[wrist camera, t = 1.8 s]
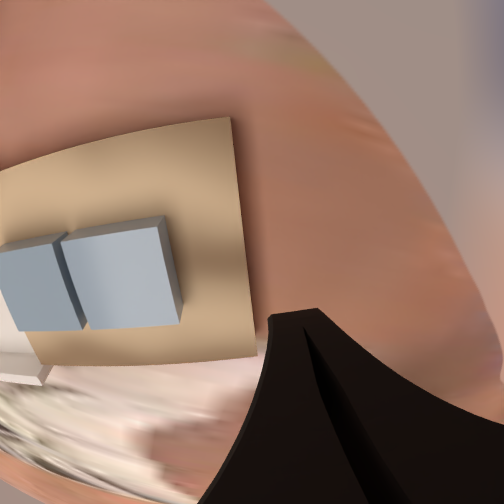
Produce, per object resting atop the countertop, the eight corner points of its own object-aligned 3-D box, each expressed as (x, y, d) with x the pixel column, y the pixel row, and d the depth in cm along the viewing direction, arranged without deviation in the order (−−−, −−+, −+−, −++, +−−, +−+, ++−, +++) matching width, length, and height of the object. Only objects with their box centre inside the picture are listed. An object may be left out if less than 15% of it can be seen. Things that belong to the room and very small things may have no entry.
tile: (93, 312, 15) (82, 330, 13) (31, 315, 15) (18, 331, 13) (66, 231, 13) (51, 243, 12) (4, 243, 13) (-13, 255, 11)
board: (254, 334, 18) (257, 356, 17) (52, 346, 18) (41, 364, 16) (229, 117, 14) (229, 116, 12) (-6, 174, 13) (-26, 181, 11)
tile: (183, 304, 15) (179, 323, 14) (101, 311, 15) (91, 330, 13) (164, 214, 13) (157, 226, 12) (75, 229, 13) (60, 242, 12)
